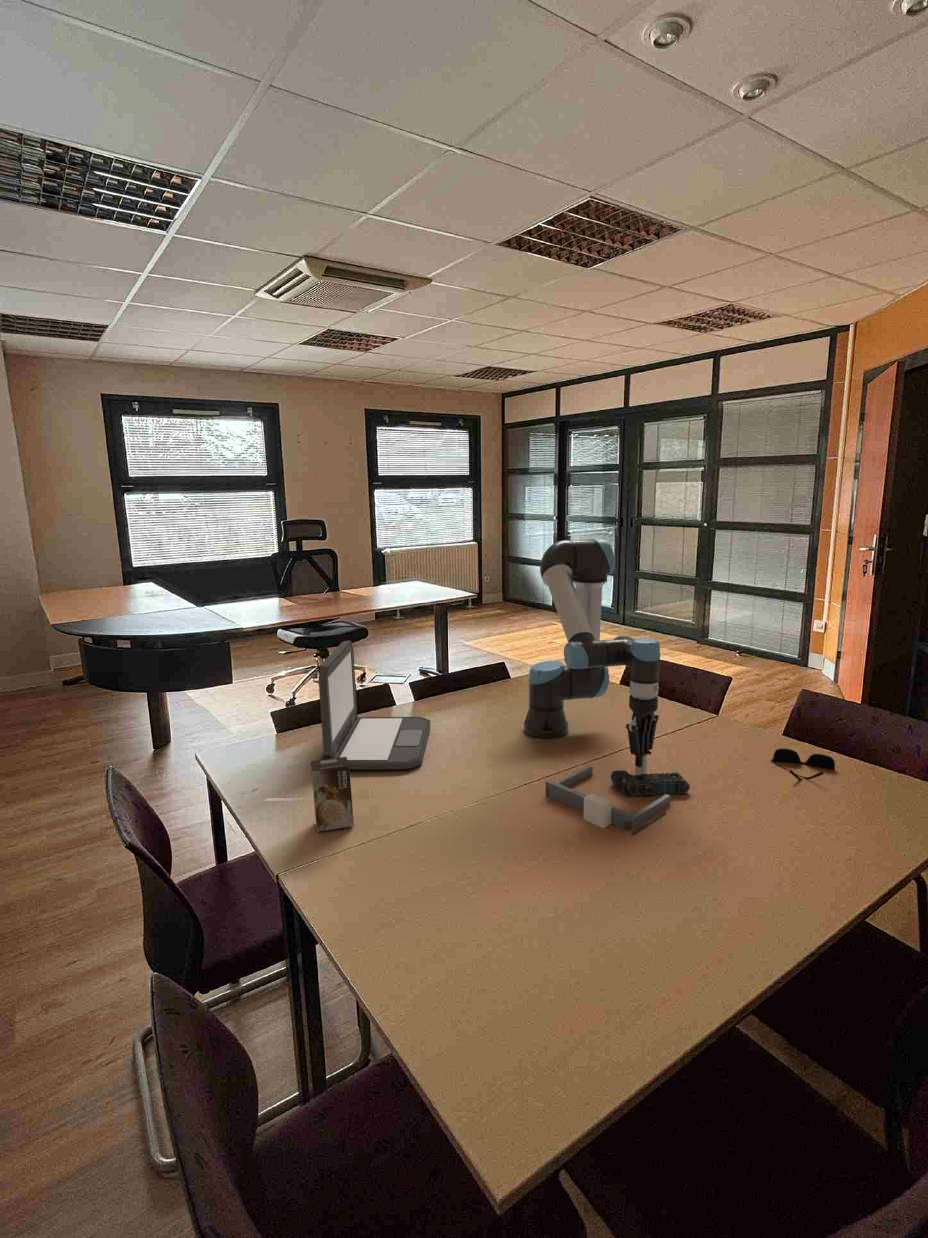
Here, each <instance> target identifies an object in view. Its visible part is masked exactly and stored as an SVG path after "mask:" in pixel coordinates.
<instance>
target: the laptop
mask: <svg viewBox="0 0 928 1238" xmlns="http://www.w3.org/2000/svg"><path fill="white" fill-rule="evenodd" d="M355 669H356V667H355V652H354V646H353V644H352V640H344V641H342V642H341V643H339V644H338V646H337V647H336V648H335V649H334V650H333V651H332V652H331V653H330V654H329V655H328V657H327V658H326V659H325V660H323V662H322V663H321V664H320V667H319V674H318V690H319V691H318V692H319V706H320V721H321V734H322V736H321V737H322V749H323V750H322V751H323V752H322V754H321V755H320V757H319V758H318V760H324V759H331V758H339V757H347V760H348V763H349V770H406V769H407V770H409V769H413V768H416V767H418V766H422V765H423V762H424V758H425V752H426V749H427V745H428V740H429V736H430V733H431V720H430V719H428V718H427V717H426V718H425V717H423V716H422V717H421V716H358V712H357V711H358V705H357V701H358V700H357V686H356V672H355V671H356V670H355Z"/></svg>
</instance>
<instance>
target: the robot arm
mask: <svg viewBox="0 0 928 1238" xmlns="http://www.w3.org/2000/svg"><path fill="white" fill-rule="evenodd" d="M539 566H540V567H539V574H540V577H541V580H542V582H543V584H544V585H545V586H546V587H548V590H549V593H550V595H551V598H552V601H553V603H554V607H555V609H556V612H557V616H558V618H559V621H560V623H561V626H562V630H563V632H564V635H565V638H566V641H567V643H566V644H564V648H563V657H564V662H562V661H560V660H545V661H541V662H538V663H535V664H534V665H533V666H531V667H530V669H529V673H528V680H527V681H528V710H527V712H526V715H525V718H524V719H525V720H524V721H523V731H524V732H525V734H527V735H529V736H532V737H535V738H539V739H554V738H556V739H557V738H560V737H563V736H565V735H566V734H568V733H569V721H567V717H566V714H565V709H564V701H570V700H582V699H594V698H600V697H602V696H604V695H605V693H606V692H607V690H608V688H609V684H610V673H609V671H610V670H609V668H608V667H620V666H626V667H627V668H629V670H630V671H629V689H628V691H629V692H628V693H629V694H630V695H629V697H628V698H629V699H628V700H629V701H628V708H629V709H630V710H631V711H632V715H631V722H630V723H626V725H625V728H626V730H627V735H628V742H629V751H630V755H634V756H635V758H634V761H635V762H634V763H635V764H634V765H635V766H634V775H640V774H648V772H647V771H648V770H647V769H648V755H649V756H650V755H652V751H651V750H653V747H654V740H655V735H656V729H657V724H658V722H659V718H660V716H659V715H658V714H656V713H655V712H657V710H658V705H659V704H658V703H659V697H658V696H659V690H660V687H659V681H660V664H661V644H660V641H658V640H657V639H655V638H652V637H651V638H650V637H636V638H633V637H630V636H627V635H618V636H616V637H614V638H612V639H600V638H601V621H602V620H601V619H602V597H603V596H602V593H603V586H604V585H605V584H606V583H608V576H610V575H612V574H613V573H614V571H615V568H616V557H615V552H614V550H613V548H612V546H611V543H610V542H609V541H607V539H600V538H587V539H585V538H583V539H582V538H581V539H563V540H559V541H556V542H554V543H553V544H551V545H550V546H549V547H548V548H547V549H546V550H545V552H544V553H543V555H542V558H541V560H540V565H539ZM564 663H565V664H564Z"/></svg>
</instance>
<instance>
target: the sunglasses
mask: <svg viewBox="0 0 928 1238" xmlns="http://www.w3.org/2000/svg"><path fill="white" fill-rule="evenodd" d="M774 761H775V762H774ZM770 762H771V763H772V764H774V765H776V766H777V767H779V768H781V767H782V768H781V769H783V768H784V769H783V770H786V771H787V770H788V772H789V774H791V775H792V776H793V777H795V778H796V779H797V780H798V781H804V779H805V780H813V779H815V778H817V777H820V776H823V775H824V771H820V772H817V773H816V774H813V775H810V776H803V775H800V774H797V773H795V772H794V771H793V770H792V769H790V770H789V769H787V768H785V767H783V765H782V766H781V765H780V764H778V763H786V764H795V763H797V764H798V763H799V764H798V765H803V766H810V767H816V768H820V769H826V770H830V771H836V762H835V760H834V758H833V757H831V756H829V755H826V754H822V753H813V754H810V755H809V757H808V758H807V759H806V761H805V762H804V761H802V760H801V757H800V756H799V754H798V752H797V751H796V750H793V749H790V748H776V750H775V751H774V753H773V756H772V758H771V759H770ZM777 762H778V763H777ZM797 764H796V765H797ZM798 775H799V776H798ZM802 777H803V778H802Z"/></svg>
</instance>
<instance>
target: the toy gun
mask: <svg viewBox="0 0 928 1238" xmlns="http://www.w3.org/2000/svg"><path fill="white" fill-rule="evenodd" d="M610 780H611V783H612V784H613V786H614V787H616V788H617V789H618V790H620V791H621V793H622V795H624V796H628V797H630V798H633V797H634V798H635V797H644V796H646V797H647V796H654V795H655V796H659V795H662V796H664V795H665V794H667V795H681V794H682V795H685V794H686V793H687V792H688V791H689V790H690V784H689V783H688V782H687V780H686V779H685V778H684V777H683V776H682V774H681V773H679V772H677V771H676V772H671V773H669V772H665V773H664V772H661V773H657V772H655V773H646V774H640V775H635V774H632V773H631V774H630V773H629V772H628V771H627V770H613V771H611V774H610Z"/></svg>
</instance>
